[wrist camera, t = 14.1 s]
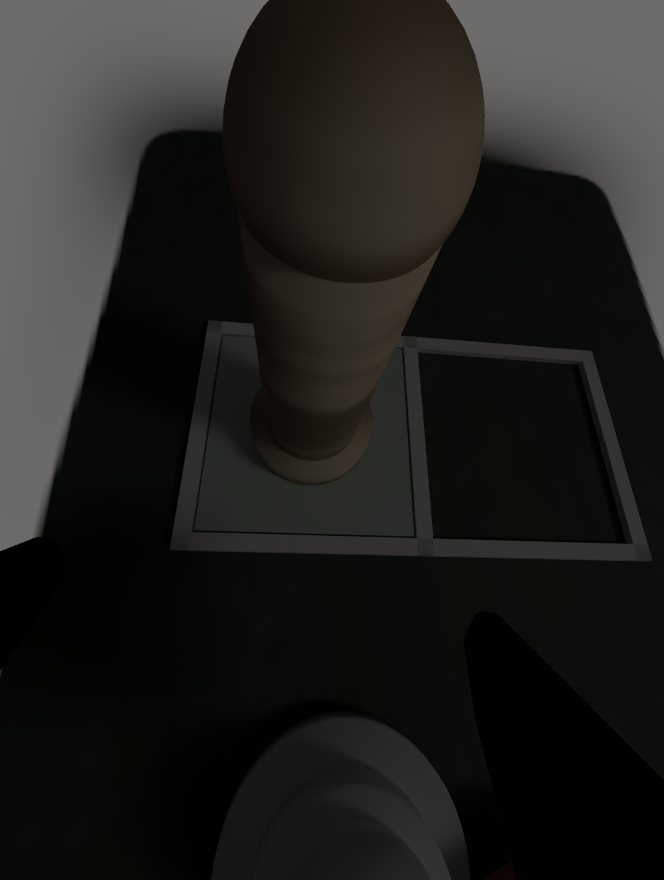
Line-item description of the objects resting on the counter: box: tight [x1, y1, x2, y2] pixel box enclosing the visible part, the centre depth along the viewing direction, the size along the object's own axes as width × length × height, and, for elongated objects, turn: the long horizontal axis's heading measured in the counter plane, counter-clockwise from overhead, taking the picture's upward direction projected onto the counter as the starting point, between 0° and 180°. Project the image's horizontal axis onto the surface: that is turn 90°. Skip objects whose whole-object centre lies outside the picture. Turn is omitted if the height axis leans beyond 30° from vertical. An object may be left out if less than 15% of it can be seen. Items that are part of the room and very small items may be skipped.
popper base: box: [211, 711, 470, 880], centre depth 13 cm, size 9×9×1 cm
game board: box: [170, 320, 652, 561], centre depth 20 cm, size 13×24×1 cm, turn 89°
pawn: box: [223, 0, 485, 485], centre depth 12 cm, size 6×6×16 cm
